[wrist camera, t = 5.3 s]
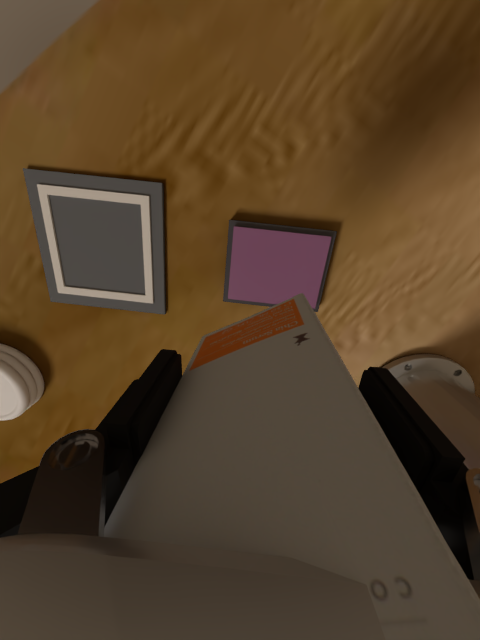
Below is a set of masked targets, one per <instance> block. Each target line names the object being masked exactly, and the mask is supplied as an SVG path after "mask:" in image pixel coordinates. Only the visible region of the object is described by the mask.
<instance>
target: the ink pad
mask: <svg viewBox="0 0 480 640" xmlns="http://www.w3.org/2000/svg"><path fill="white" fill-rule="evenodd" d="M336 233H337V231H329V230H320V229H311V228H301V227H292V226H283V225H273V224H264V223H255V222H246V221H236V220H229V231H228V245H227V258H226V271H225V284H224V297H223V301H225V302H233V303H242V304H251V305H260V306H269V307H272V306H274V305H277V304H279V303H281V302H283V301H286V300H288V299H290V298H292V297H294V296H296V295H298V294H300V293H303V294H304V295H305V297H306V299H307V300H308V302H309V304H310V306H311V307H312V309H313V310H314V312H318V309H319V304H320V300H321V296H322V292H323V288H324V283H325V279H326V275H327V271H328V266H329V262H330V258H331V254H332V250H333V245H334V241H335V237H336Z"/></svg>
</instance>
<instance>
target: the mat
mask: <svg viewBox="0 0 480 640" xmlns="http://www.w3.org/2000/svg"><path fill="white" fill-rule="evenodd" d="M23 171H24V176H25V181H26V185H27V190H28V195H29V200H30V205H31V209H32V214H33V219H34V224H35V228H36V233H37V238H38V243H39V247H40V252H41V257H42V262H43V266H44V271H45V276H46V281H47V285H48V290H49V295H50V300H51V302H60V303H69V304H78V305H87V306H96V307H104V308H113V309H122V310H131V311H140V312H149V313H157V314H166V291H165V241H164V190H163V183H157V182H147V181H138V180H128V179H119V178H109V177H100V176H90V175H81V174H71V173H62V172H52V171H43V170H33V169H24V168H23Z"/></svg>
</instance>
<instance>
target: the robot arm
mask: <svg viewBox="0 0 480 640" xmlns="http://www.w3.org/2000/svg"><path fill="white" fill-rule="evenodd" d="M181 378H182V364H181V355H180V354H177V352H176V350H165V349H162V350H161V351H160V352H159V353H158V355H157V356H156V357H155V358H154V360H153V361H152V362H151V364H150V365H149V366H148V368H147V369H146V370H145V372H144V373H143V374H142V376H141V377H140V378H139V379H137V380H134V381H133V382H132V383H131V385H130V386H129V387H128V388H127V390H126V391H125V392H124V394H123V395H122V396H121V397H120V399H119V400H118V401H117V403H116V404H115V405H114V406H113V408H112V409H111V410H110V411H109V413H108V414H107V415H106V417H105V418H104V419H103V420H102V422H101V423H100V424H99V426H98V427H97V428H96V429H95V430H90V429H85V430H78V431H75V432H72V433H69V434H67V435H65V436H64V437H62V438H60V439H58V440H57V441H56V442H55V443H53V444H52V445H51V446H50V447H49V448H48V449H47V450H46V452H45V453H44V455H43V457H42V459H41V462H40V465H39V466H38V467H36V468H34V469H31V470H29V471H27V472H25V473H23V474H21V475H18V476H16V477H14V478H12V479H10V480H8V481H5V482H3V483H1V484H0V640H385V637H384V634H383V631H382V628H381V625H380V622H379V619H378V616H377V613H376V610H375V607H374V605H373V602H372V599H371V596H370V593H369V590H368V587H367V585H366V584H363V583H360V582H357V581H355V580H352V579H349V578H346V577H343V576H341V575H338V574H335V573H333V572H330V571H327V570H324V569H322V568H319V567H316V566H313V565H310V564H308V563H305V562H302V561H299V560H296V559H294V558H290V557H282V556H274V555H265V554H257V553H248V552H240V551H231V550H222V549H213V548H204V547H196V546H187V545H178V544H169V543H160V542H151V541H143V540H132V539H121V538H111V537H104V527H105V525H106V523H107V521H108V519H109V517H110V515H111V513H112V511H113V509H114V508H115V506H116V504H117V502H118V500H119V498H120V496H121V494H122V492H123V490H124V488H125V486H126V484H127V482H128V480H129V478H130V477H131V475H132V473H133V470H134V468H135V466H136V465H137V463H138V461H139V459H140V458H141V456H142V454H143V452H144V450H145V449H146V447H147V444H148V442H149V440H150V438H151V436H152V434H153V432H154V430H155V428H156V427H157V424H158V422H159V420H160V418H161V416H162V414H163V412H164V411H165V409H166V407H167V405H168V403H169V401H170V399H171V397H172V395H173V393H174V391H175V389H176V387H177V385H178V383H179V381H180V379H181ZM358 389H359V391H360V392H361V394H362V396H363V397H364V399H365V401H366V403H367V404H368V406H369V408H370V409H371V411H372V413H373V415H374V416H375V418H376V420H377V422H378V423H379V425H380V427H381V428H382V430H383V432H384V434H385V435H386V437H387V439H388V441H389V442H390V444H391V446H392V448H393V449H394V451H395V453H396V455H397V456H398V458H399V460H400V462H401V463H402V465H403V467H404V468H405V470H406V472H407V474H408V475H409V477H410V479H411V481H412V482H413V484H414V486H415V488H416V489H417V491H418V493H419V495H420V496H421V498H422V500H423V502H424V503H425V505H426V507H427V509H428V511H429V512H430V514H431V516H432V518H433V520H434V521H435V523H436V525H437V527H438V529H439V530H440V532H441V534H442V536H443V538H444V539H445V541H446V543H447V545H448V546H449V548H450V550H451V551H452V553H453V555H454V556H455V558H456V560H457V561H458V563H459V565H460V566H461V568H462V570H463V571H464V573H465V575H466V576H467V578H468V580H469V581H470V583H471V585H472V587H473V588H474V590H475V592H476V594H477V595H478V597H479V599H480V398H479V397H477V396H476V395H475V388H474V382H473V380H472V378H471V376H470V374H469V373H468V372H467V371H466V370H465V369H464V368H463V367H462V366H460V365H459V364H458V363H456V362H454V361H453V360H451V359H449V358H446V357H443V356H440V355H433V354H416V355H411V356H406V357H403V358H400V359H397V360H394V361H392V362H391V363H389V364H387V365H385V366H383V367H382V368H379V367H369V368H368V370H364V372H363V374H362V378H361V381H360V385H359V388H358Z"/></svg>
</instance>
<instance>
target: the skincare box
mask: <svg viewBox="0 0 480 640" xmlns="http://www.w3.org/2000/svg"><path fill="white" fill-rule="evenodd" d="M104 537H111V538H121V539H132V540H143V541H151V542H160V543H169V544H178V545H187V546H196V547H204V548H213V549H222V550H231V551H240V552H248V553H257V554H265V555H274V556H282V557H290V558H294V559H296V560H299V561H302V562H305V563H308V564H310V565H313V566H316V567H319V568H322V569H324V570H327V571H330V572H333V573H335V574H338V575H341V576H343V577H346V578H349V579H352V580H355V581H357V582H360V583H363V584H366V585H367V587H368V590H369V593H370V596H371V599H372V602H373V605H374V607H375V610H376V613H377V616H378V619H379V622H380V625H381V628H382V631H383V634H384V637H385V640H480V599H479V597H478V595H477V594H476V592H475V590H474V588H473V587H472V585H471V583H470V581H469V580H468V578H467V576H466V575H465V573H464V571H463V570H462V568H461V566H460V565H459V563H458V561H457V560H456V558H455V556H454V555H453V553H452V551H451V550H450V548H449V546H448V545H447V543H446V541H445V539H444V538H443V536H442V534H441V532H440V530H439V529H438V527H437V525H436V523H435V521H434V520H433V518H432V516H431V514H430V512H429V511H428V509H427V507H426V505H425V503H424V502H423V500H422V498H421V496H420V495H419V493H418V491H417V489H416V488H415V486H414V484H413V482H412V481H411V479H410V477H409V475H408V474H407V472H406V470H405V468H404V467H403V465H402V463H401V462H400V460H399V458H398V456H397V455H396V453H395V451H394V449H393V448H392V446H391V444H390V442H389V441H388V439H387V437H386V435H385V434H384V432H383V430H382V428H381V427H380V425H379V423H378V422H377V420H376V418H375V416H374V415H373V413H372V411H371V409H370V408H369V406H368V404H367V403H366V401H365V399H364V397H363V396H362V394H361V392H360V391H359V389H358V387H357V385H356V384H355V382H354V380H353V378H352V377H351V375H350V373H349V371H348V370H347V368H346V366H345V364H344V363H343V361H342V359H341V357H340V356H339V354H338V352H337V350H336V349H335V347H334V345H333V344H332V342H331V340H330V338H329V337H328V335H327V333H326V331H325V330H324V328H323V326H322V324H321V323H320V321H319V319H318V317H317V316H316V314H315V312H314V310H313V309H312V307H311V306H310V304H309V302H308V300H307V299H306V297H305V295H304V294H303V293H300V294H298V295H296V296H294V297H292V298H290V299H288V300H286V301H283V302H281V303H279V304H277V305H274V306H272V307H270V308H268V309H265V310H263V311H261V312H259V313H257V314H254V315H252V316H250V317H248V318H245V319H243V320H241V321H238V322H235V323H233V324H231V325H228V326H226V327H223V328H221V329H219V330H216V331H214V332H212V333H209V334H207V335H204V336H203V337H202V339H201V341H200V343H199V345H198V347H197V348H196V350H195V352H194V354H193V356H192V358H191V360H190V362H189V364H188V366H187V368H186V370H185V372H184V374H183V376H182V378H181V379H180V381H179V383H178V385H177V387H176V389H175V391H174V393H173V395H172V397H171V399H170V401H169V403H168V405H167V407H166V409H165V411H164V412H163V414H162V416H161V418H160V420H159V422H158V424H157V427H156V428H155V430H154V432H153V434H152V436H151V438H150V440H149V442H148V444H147V447H146V449H145V450H144V452H143V454H142V456H141V458H140V459H139V461H138V463H137V465H136V466H135V468H134V470H133V473H132V475H131V477H130V478H129V480H128V482H127V484H126V486H125V488H124V490H123V492H122V494H121V496H120V498H119V500H118V502H117V504H116V506H115V508H114V509H113V511H112V513H111V515H110V517H109V519H108V521H107V523H106V525H105V527H104Z"/></svg>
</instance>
